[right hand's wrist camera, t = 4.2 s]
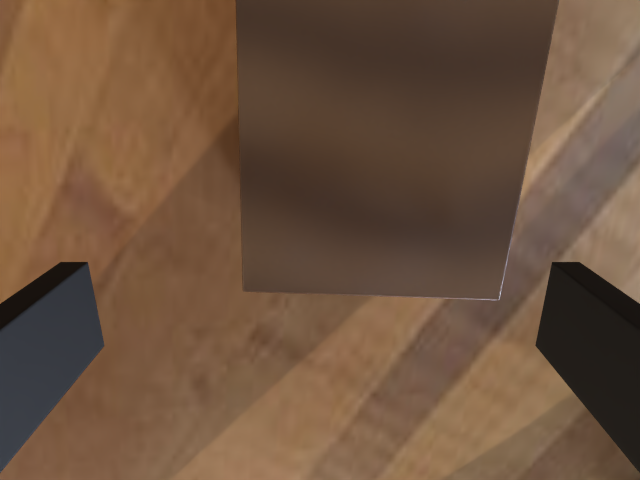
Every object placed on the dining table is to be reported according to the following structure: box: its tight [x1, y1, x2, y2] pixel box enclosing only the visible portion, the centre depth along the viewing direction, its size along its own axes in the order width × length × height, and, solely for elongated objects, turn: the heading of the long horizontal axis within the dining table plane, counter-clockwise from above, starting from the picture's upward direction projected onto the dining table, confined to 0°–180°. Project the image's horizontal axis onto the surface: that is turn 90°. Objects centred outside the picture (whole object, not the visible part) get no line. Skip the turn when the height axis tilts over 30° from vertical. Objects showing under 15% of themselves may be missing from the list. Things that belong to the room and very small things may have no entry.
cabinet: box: [236, 0, 559, 300], centre depth 20 cm, size 20×11×9 cm, turn 178°
